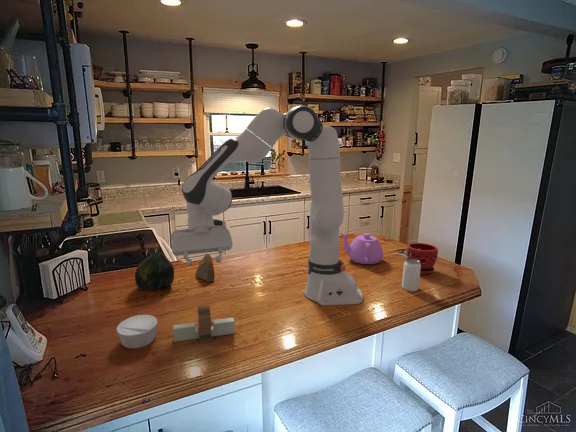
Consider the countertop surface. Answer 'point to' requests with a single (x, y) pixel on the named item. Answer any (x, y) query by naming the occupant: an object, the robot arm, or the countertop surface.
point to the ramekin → (137, 331)
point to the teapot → (364, 249)
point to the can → (411, 274)
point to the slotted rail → (190, 332)
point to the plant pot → (423, 256)
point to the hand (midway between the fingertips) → (204, 263)
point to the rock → (206, 269)
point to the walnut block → (204, 324)
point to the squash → (154, 272)
